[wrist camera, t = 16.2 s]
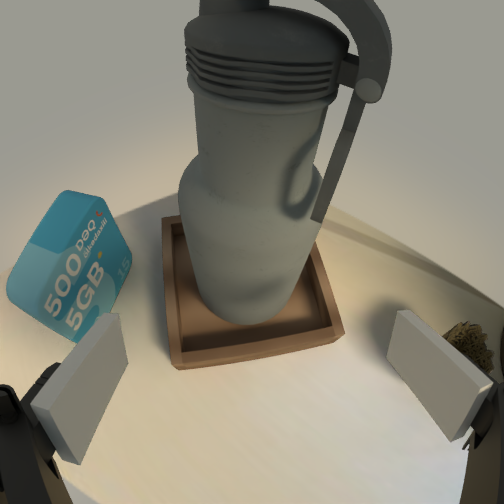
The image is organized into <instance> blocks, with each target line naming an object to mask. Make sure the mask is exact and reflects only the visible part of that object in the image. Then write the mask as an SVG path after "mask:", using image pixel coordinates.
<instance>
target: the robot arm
mask: <svg viewBox="0 0 504 504" xmlns="http://www.w3.org/2000/svg"><path fill="white" fill-rule="evenodd" d="M386 358H387V360H388V361H389V362H390V363H391V365H392V366H393V367H394V369H395V370H396V371H397V372H398V374H399V375H400V376H401V377H402V379H403V380H404V381H405V383H406V384H407V385H408V387H409V388H410V389H411V390H412V392H413V393H414V394H415V396H416V397H417V398H418V400H419V401H420V402H421V404H422V405H423V406H424V407H425V409H426V410H427V411H428V413H429V414H430V415H431V417H432V418H433V420H434V421H435V422H436V424H437V425H438V426H439V428H440V429H441V430H442V432H443V433H444V434H445V436H446V437H447V439H448V440H449V441H450V442H452V441H454V440H457V439H459V438H461V437H463V436H464V435H465V433H466V432H467V430H468V428H469V427H470V426H471V427H472V428H473V429H474V430H473V432H472V434H471V435H470V437H469V438H468V440H467V441H466V443H465V444H464V446H463V448H462V450H464V449H465V448H466V446H467V445H468V444H470V445H469V448H468V451H469V453H468V461H467V467H466V473H465V479H464V484H463V489H462V494H461V499H460V503H459V504H504V382H503V383H501V384H499V383H497V382H496V381H495V380H494V379H493V378H492V377H491V376H490V375H489V374H488V373H487V372H485V371H484V370H483V369H482V368H480V366H479V365H478V364H476V363H475V362H474V361H473V360H472V359H471V358H470V357H469V356H467V355H465V354H463V353H461V352H459V351H458V350H457V349H456V348H454V347H453V346H452V345H451V344H450V343H449V342H447V341H446V340H445V339H444V338H443V337H442V336H440V335H439V334H438V333H437V332H436V331H435V330H433V329H432V328H431V327H430V326H429V325H427V324H426V323H425V322H424V321H423V320H421V319H420V318H419V317H418V316H417V315H415V314H414V313H413V312H412V311H410V310H400V311H397V314H396V319H395V323H394V327H393V332H392V336H391V340H390V344H389V348H388V351H387V355H386ZM501 361H502V369H503V374H504V330H503V334H502V341H501ZM127 365H128V359H127V355H126V350H125V345H124V340H123V335H122V329H121V324H120V318H119V314H117V313H103V315H102V316H101V317H100V318H99V319H98V320H97V321H96V323H95V324H94V325H93V326H92V327H91V328H90V329H89V331H88V332H87V333H86V334H85V335H84V337H83V338H82V339H81V340H80V341H79V342H78V344H77V345H76V346H75V347H74V348H73V350H72V351H71V352H70V353H69V355H68V356H67V357H66V358H65V359H64V361H63V362H62V363H57V362H56V363H54V364H53V365H51V366H50V367H48V368H47V369H46V370H45V371H44V372H43V373H42V375H41V376H40V378H38V379H37V381H36V382H35V384H33V386H32V387H31V388H30V389H29V391H28V392H27V393H26V394H25V396H24V397H23V398H22V399H21V401H19V399H18V397H17V395H16V393H15V391H14V389H13V388H12V387H11V386H9V385H5V384H2V385H0V504H73V502H72V500H71V498H70V496H69V494H68V491H67V489H66V487H65V485H64V482H63V480H62V477H61V475H60V472H59V470H58V467H57V465H56V462H55V460H54V459H53V457H52V456H53V454H54V452H55V450H56V451H57V453H58V454H59V456H60V457H61V459H62V460H64V461H68V462H71V463H74V464H77V465H81V463H82V460H83V458H84V456H85V453H86V451H87V449H88V447H89V444H90V442H91V440H92V438H93V435H94V433H95V431H96V429H97V427H98V424H99V422H100V420H101V418H102V416H103V414H104V412H105V409H106V407H107V405H108V403H109V401H110V399H111V397H112V395H113V393H114V391H115V389H116V387H117V385H118V383H119V381H120V379H121V377H122V375H123V373H124V371H125V369H126V367H127Z"/></svg>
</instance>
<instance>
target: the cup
mask: <svg viewBox="0 0 504 504" xmlns="http://www.w3.org/2000/svg"><path fill="white" fill-rule="evenodd" d="M470 324H471V323H470V321H467V322H466V323H464V324H462V322H460V323H458V324H457V325H456V326H454V327H453V328H452V329H451V330H450V331H448V332H447V333H446V334H444V335H443V336H442V337H443V338H444V339H445V340H446V341H447V342H449V343H450V344H451V345H452V346H453V347H454V348H456V349H457V350H458V351H459V352H461V353H463V354H465V355H467V356H469V357H470V358H471V359H472V360H473V361H474V362H475V363H476V364H478V365H479V366H480V368H482V369H483V370H484V371H485V372H487V373H488V374H490V373H491V372H492V371H493V369H494V365H493V362H492V361H491V358H492V357H493V356H494V352H493V351H492V350H491V351H490V350H488V351H487V349H486V347H487V345H486V344H485V343H484V342H485V340H486V339H488V335H487V334H485V333H482V329H481V327H480V325H477V324H473V325H470Z"/></svg>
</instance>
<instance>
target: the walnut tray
mask: <svg viewBox="0 0 504 504" xmlns="http://www.w3.org/2000/svg"><path fill="white" fill-rule="evenodd" d="M162 254H163V275H164V291H165V305H166V317H167V328H168V338H169V347H170V356H171V364H172V365H173V366H174V367H175V368H176V369H178V370H186V369H195V368H203V367H210V366H217V365H224V364H231V363H237V362H243V361H249V360H255V359H260V358H266V357H271V356H276V355H281V354H286V353H291V352H295V351H300V350H304V349H309V348H313V347H317V346H322V345H326V344H330V343H334V342H335V341H336V340H338V339H339V338H340V337H341V336H343V335H344V334H345V331H344V328H343V324H342V321H341V318H340V315H339V311H338V308H337V305H336V302H335V299H334V295H333V292H332V289H331V286H330V283H329V280H328V277H327V274H326V271H325V268H324V265H323V262H322V259H321V256H320V253H319V251H318V248H317V245H316V242H314V244H313V246H312V249H311V251H310V253H309V256H308V258H307V260H306V263H305V265H304V267H303V270H302V272H301V274H300V276H299V279H298V281H297V283H296V285H295V288H294V290H293V292H292V294H291V297H290V299H289V300H288V302H287V304H286V306H285V307H284V308H283V309H282V310H281V311H280V312H279V313H278V314H277V315H275V316H274V317H273V318H271V319H269V320H267V321H264V322H262V323H258V324H254V325H239V324H233V323H230V322H227V321H225V320H223V319H221V318H219V317H218V316H216V315H215V314H214V313H213V312H212V311H211V310H209V309H208V307H207V306H206V305H205V303H204V302H203V300H202V298H201V295H200V293H199V289H198V286H197V282H196V278H195V274H194V270H193V266H192V262H191V258H190V254H189V250H188V246H187V241H186V237H185V233H184V229H183V224H182V220H181V215H178V216H171V217H164V218H162Z"/></svg>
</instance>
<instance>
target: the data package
mask: <svg viewBox="0 0 504 504" xmlns="http://www.w3.org/2000/svg"><path fill="white" fill-rule="evenodd" d="M131 263H132V254H131V252H130V250H129V248H128V246H127V244H126V242H125V240H124V238H123V237H122V235H121V233H120V231H119V229H118V227H117V225H116V223H115V221H114V219H113V217H112V215H111V213H110V211H109V209H108V206H107V205H106V202H105V201H104V199H103V198H101V197H97V196H92V195H88V194H84V193H79V192H75V191H70V190H66V191H63V192H62V193H60V194H59V195H58V197H57V198H56V200H55V201H54V203H53V204H52V206H51V207H50V208H49V210H48V211H47V213H46V214H45V216H44V217H43V219H42V220H41V222H40V224H39V225H38V227H37V228H36V230H35V231H34V233H33V235H32V236H31V238H30V240H29V241H28V243H27V245H26V246H25V248H24V250H23V252H22V253H21V255H20V257H19V259H18V261H17V262H16V264H15V266H14V268H13V270H12V272H11V274H10V276H9V278H8V280H7V285H6V292H7V296H8V298H9V300H10V301H11V302H12V303H13V304H14V305H16V306H17V307H19V308H20V309H22V310H23V311H24V312H26V313H27V314H29V315H30V316H32V317H33V318H35V319H36V320H38V321H39V322H41V323H42V324H44V325H46V326H47V327H49V328H50V329H52V330H54V331H55V332H57V333H59V334H60V335H62V336H64V337H66V338H68V339H69V340H71V341H73V342H75V343H77V344H78V342H79V341H80V340H81V339H82V338H83V337H84V335H85V334H86V333H87V332H88V331H89V329H90V328H91V327H92V326H93V325H94V324H95V323H96V321H97V320H98V319H99V318H100V317H101V316H102V315H103V313H110V311H111V309H112V306H113V304H114V302H115V300H116V297H117V295H118V293H119V291H120V289H121V286H122V284H123V282H124V280H125V278H126V276H127V274H128V272H129V270H130V267H131Z"/></svg>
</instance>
